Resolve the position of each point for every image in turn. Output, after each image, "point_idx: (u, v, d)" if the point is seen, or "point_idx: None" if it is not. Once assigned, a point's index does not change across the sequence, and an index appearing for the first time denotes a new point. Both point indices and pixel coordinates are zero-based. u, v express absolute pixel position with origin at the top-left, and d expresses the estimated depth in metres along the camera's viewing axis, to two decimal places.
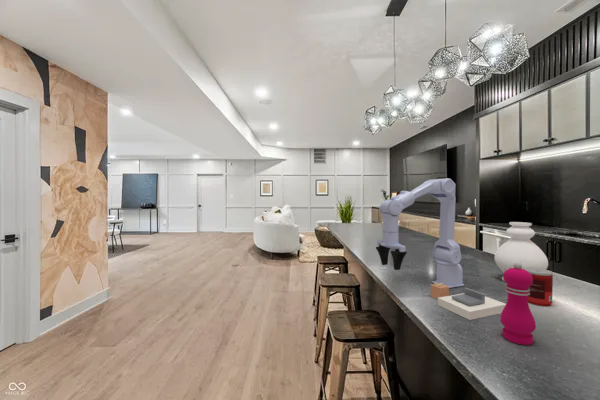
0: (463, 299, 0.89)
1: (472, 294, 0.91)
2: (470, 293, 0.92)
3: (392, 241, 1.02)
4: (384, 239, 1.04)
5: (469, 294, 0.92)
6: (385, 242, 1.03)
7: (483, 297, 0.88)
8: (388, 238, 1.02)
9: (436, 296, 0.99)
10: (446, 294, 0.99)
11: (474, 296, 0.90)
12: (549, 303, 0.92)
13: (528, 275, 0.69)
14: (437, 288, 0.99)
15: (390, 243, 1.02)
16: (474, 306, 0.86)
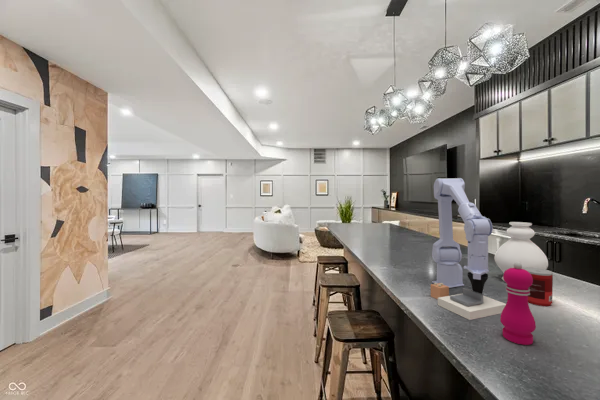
0: (461, 299, 0.89)
1: (470, 294, 0.91)
2: (468, 293, 0.92)
3: (472, 266, 0.90)
4: None
5: (467, 294, 0.92)
6: None
7: (481, 297, 0.88)
8: (469, 261, 0.91)
9: (436, 296, 0.99)
10: (446, 294, 0.99)
11: (472, 296, 0.90)
12: (549, 303, 0.92)
13: (528, 275, 0.69)
14: (437, 288, 0.99)
15: (471, 267, 0.90)
16: (474, 306, 0.86)
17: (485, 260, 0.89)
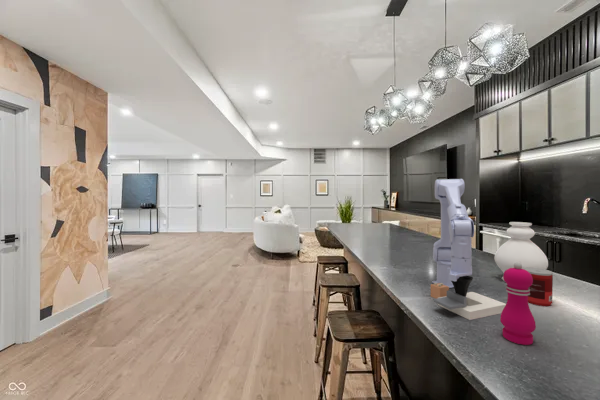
0: (444, 302, 0.87)
1: (454, 297, 0.89)
2: (452, 296, 0.89)
3: (453, 267, 0.88)
4: None
5: (451, 297, 0.90)
6: (451, 267, 0.91)
7: (465, 300, 0.85)
8: (451, 263, 0.89)
9: (436, 296, 0.99)
10: (446, 294, 0.99)
11: (456, 299, 0.88)
12: (549, 303, 0.92)
13: (528, 275, 0.69)
14: (437, 288, 0.99)
15: (452, 269, 0.89)
16: (474, 306, 0.86)
17: (466, 262, 0.86)
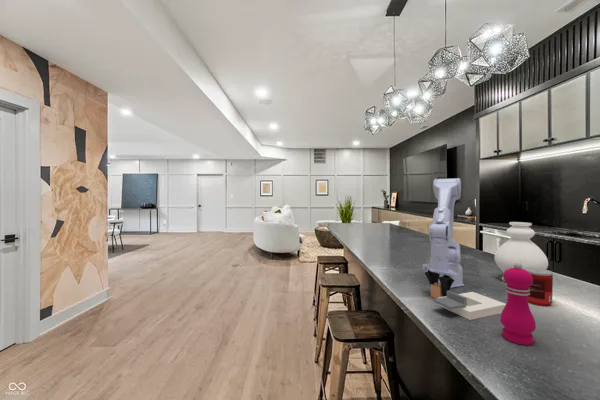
0: (444, 302, 0.87)
1: (454, 297, 0.89)
2: (452, 296, 0.89)
3: (442, 267, 0.97)
4: (433, 265, 0.99)
5: (451, 297, 0.90)
6: (435, 268, 0.99)
7: (465, 300, 0.85)
8: (438, 264, 0.98)
9: (436, 296, 0.99)
10: None
11: (456, 299, 0.88)
12: (549, 303, 0.92)
13: (528, 275, 0.69)
14: (437, 288, 0.99)
15: (441, 269, 0.98)
16: (474, 306, 0.86)
17: None
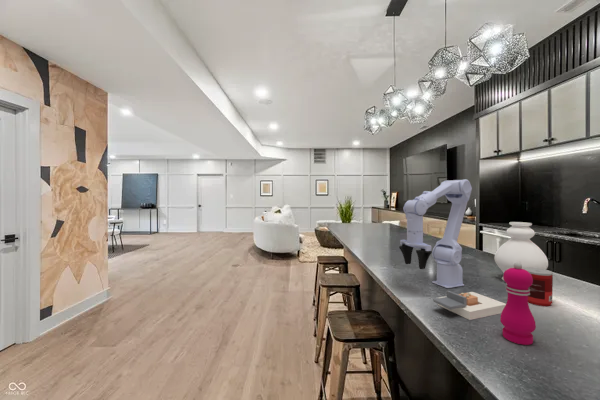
0: (444, 302, 0.87)
1: (454, 297, 0.89)
2: (452, 296, 0.89)
3: (417, 241, 1.03)
4: (409, 238, 1.05)
5: (451, 297, 0.90)
6: (410, 241, 1.05)
7: (465, 300, 0.85)
8: (413, 237, 1.04)
9: None
10: None
11: (456, 299, 0.88)
12: (549, 303, 0.92)
13: (528, 275, 0.69)
14: None
15: (415, 242, 1.04)
16: (474, 306, 0.86)
17: (422, 234, 1.05)
